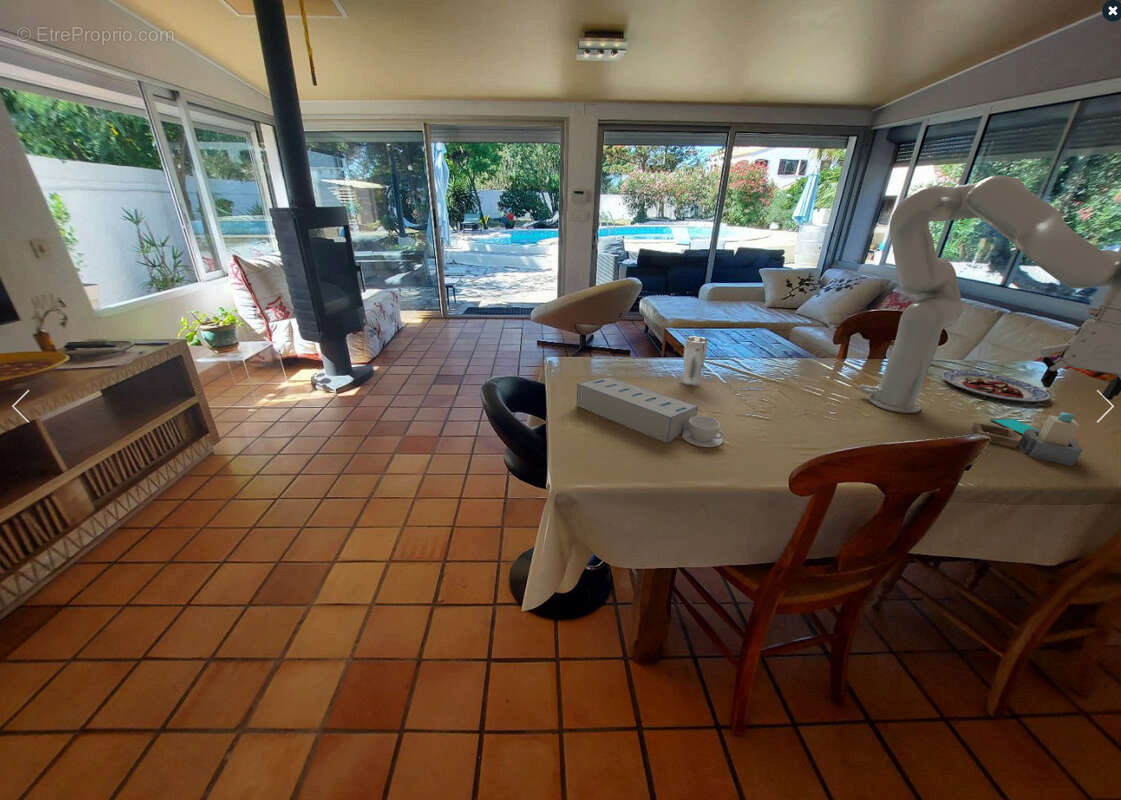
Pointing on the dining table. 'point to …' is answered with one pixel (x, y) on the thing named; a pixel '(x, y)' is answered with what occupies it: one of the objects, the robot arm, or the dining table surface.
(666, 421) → the slotted grey box
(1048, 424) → the plug
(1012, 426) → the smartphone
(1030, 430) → the socket
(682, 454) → the dining table surface
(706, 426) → the teacup
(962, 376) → the ceramic plate
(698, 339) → the beer glass
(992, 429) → the holster
